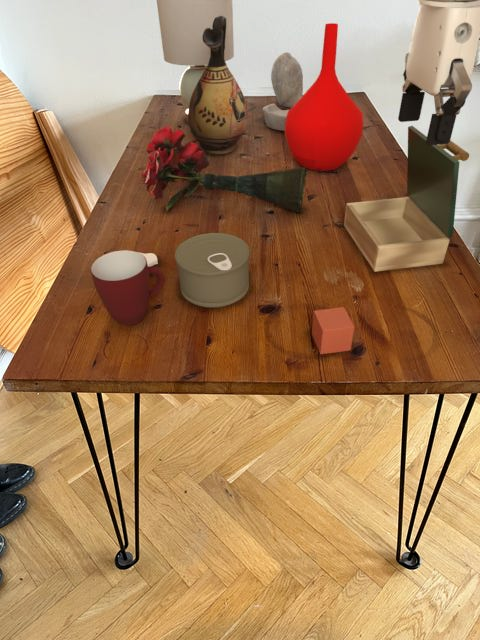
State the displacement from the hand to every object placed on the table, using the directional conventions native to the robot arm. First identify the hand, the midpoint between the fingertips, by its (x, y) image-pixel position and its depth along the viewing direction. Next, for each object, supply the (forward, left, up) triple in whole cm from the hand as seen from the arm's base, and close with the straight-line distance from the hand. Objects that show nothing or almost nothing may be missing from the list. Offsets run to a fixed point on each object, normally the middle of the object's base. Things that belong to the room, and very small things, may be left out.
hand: (422, 131), depth 69 cm
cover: (-7, -7, -11) cm, 15 cm away
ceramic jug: (+23, -63, -23) cm, 71 cm away
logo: (+45, -8, -23) cm, 51 cm away
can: (+32, 0, -23) cm, 39 cm away
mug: (+45, +5, -23) cm, 51 cm away
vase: (0, -46, -23) cm, 52 cm away
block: (+17, +17, -23) cm, 33 cm away
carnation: (+26, -31, -23) cm, 47 cm away
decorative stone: (-3, -95, -23) cm, 98 cm away
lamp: (+25, -87, -23) cm, 93 cm away
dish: (+1, -75, -23) cm, 79 cm away
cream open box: (-2, -7, -23) cm, 24 cm away
